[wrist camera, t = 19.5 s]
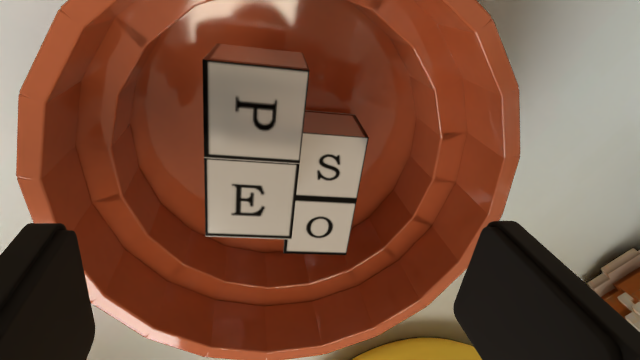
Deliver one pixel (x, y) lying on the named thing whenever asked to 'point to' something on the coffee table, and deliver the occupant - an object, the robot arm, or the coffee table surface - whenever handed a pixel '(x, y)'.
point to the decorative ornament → (621, 286)
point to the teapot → (421, 350)
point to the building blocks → (276, 154)
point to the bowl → (188, 164)
